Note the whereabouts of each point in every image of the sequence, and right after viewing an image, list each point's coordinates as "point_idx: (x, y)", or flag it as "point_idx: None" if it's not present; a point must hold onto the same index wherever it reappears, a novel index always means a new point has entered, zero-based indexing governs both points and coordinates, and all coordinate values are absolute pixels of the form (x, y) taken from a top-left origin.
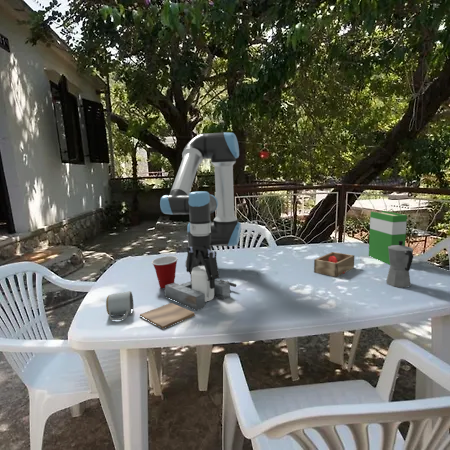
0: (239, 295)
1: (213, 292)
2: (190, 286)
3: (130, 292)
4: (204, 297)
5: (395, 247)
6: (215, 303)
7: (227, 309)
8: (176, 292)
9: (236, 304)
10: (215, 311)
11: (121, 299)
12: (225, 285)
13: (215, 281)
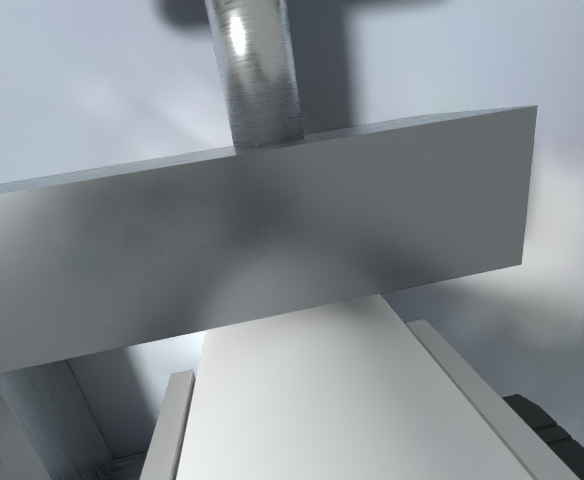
0: (477, 12)
1: (443, 346)
2: (26, 389)
3: None
4: None
5: None
6: (434, 305)
7: (568, 292)
8: None
9: (574, 189)
10: (523, 365)
11: None
12: (525, 205)
13: (278, 220)
